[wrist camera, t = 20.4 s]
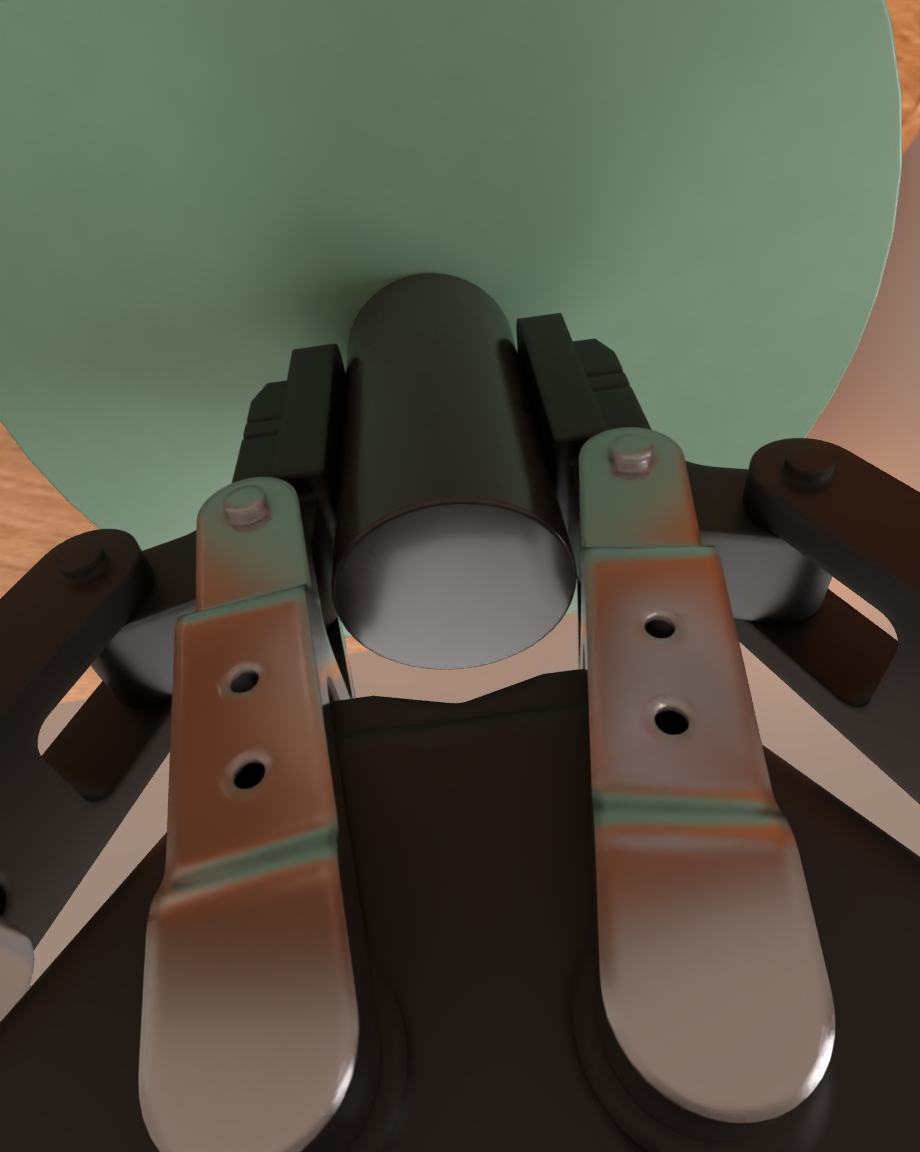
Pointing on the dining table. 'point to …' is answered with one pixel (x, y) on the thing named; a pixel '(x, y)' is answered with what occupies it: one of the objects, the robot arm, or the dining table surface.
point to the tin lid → (429, 257)
